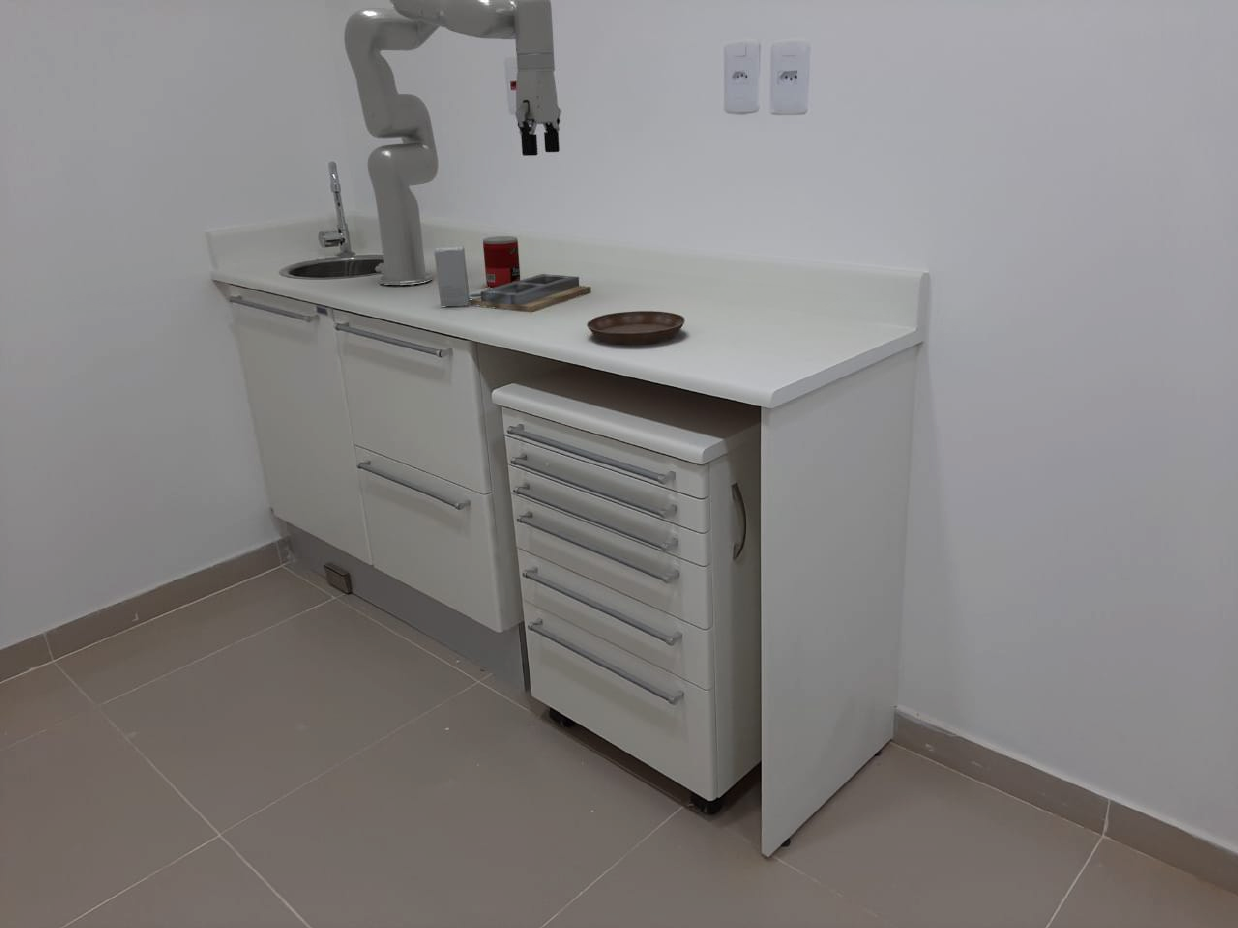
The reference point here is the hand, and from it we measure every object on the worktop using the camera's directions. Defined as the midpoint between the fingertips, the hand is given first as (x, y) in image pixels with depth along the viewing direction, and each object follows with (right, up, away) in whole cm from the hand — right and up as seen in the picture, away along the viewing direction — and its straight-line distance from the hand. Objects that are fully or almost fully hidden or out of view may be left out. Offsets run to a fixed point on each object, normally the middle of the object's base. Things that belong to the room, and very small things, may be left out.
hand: (541, 153), depth 200 cm
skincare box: (-19, -31, +6) cm, 36 cm away
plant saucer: (+19, -41, -24) cm, 51 cm away
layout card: (-14, -27, +15) cm, 34 cm away
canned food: (-11, -23, +25) cm, 36 cm away
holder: (-3, -28, +10) cm, 30 cm away
